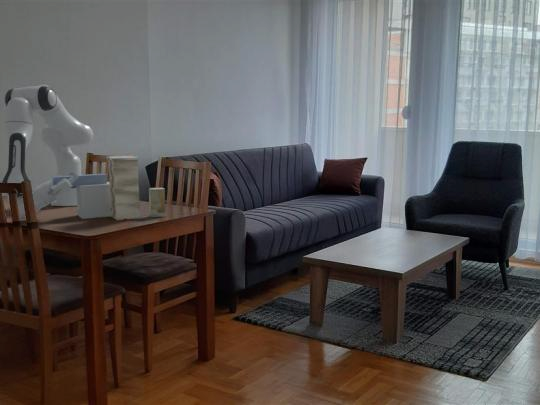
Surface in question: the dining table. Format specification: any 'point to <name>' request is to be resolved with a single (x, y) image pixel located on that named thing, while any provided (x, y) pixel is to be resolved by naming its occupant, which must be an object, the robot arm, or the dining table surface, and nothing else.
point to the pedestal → (124, 187)
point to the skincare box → (156, 202)
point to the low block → (93, 200)
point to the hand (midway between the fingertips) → (75, 174)
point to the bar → (84, 179)
